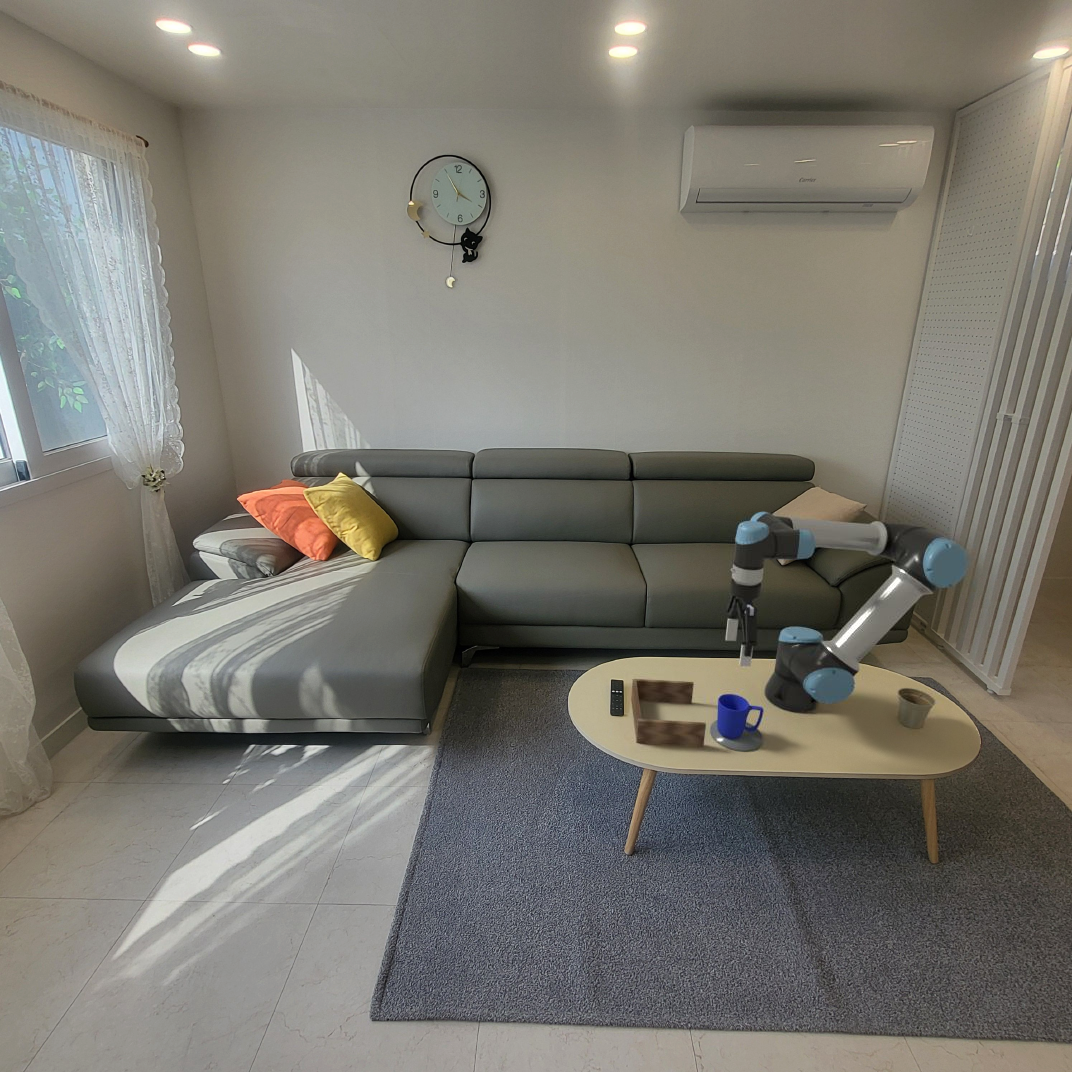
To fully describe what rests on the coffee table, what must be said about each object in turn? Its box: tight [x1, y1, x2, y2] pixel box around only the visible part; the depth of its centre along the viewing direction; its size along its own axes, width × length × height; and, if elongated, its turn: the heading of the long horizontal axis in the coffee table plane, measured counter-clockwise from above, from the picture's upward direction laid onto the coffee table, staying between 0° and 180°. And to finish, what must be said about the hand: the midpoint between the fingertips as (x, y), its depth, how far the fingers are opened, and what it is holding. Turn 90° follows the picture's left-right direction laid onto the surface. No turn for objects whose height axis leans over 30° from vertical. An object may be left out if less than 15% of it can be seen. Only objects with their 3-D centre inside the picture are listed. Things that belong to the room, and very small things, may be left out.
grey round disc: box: [709, 719, 764, 753], centre depth 170 cm, size 14×14×1 cm
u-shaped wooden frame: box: [630, 678, 707, 748], centre depth 175 cm, size 18×21×7 cm
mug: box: [716, 693, 764, 739], centre depth 168 cm, size 8×12×10 cm
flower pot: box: [897, 687, 936, 729], centre depth 175 cm, size 9×9×9 cm
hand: (737, 652), depth 166 cm, fingers open, 13 cm apart
